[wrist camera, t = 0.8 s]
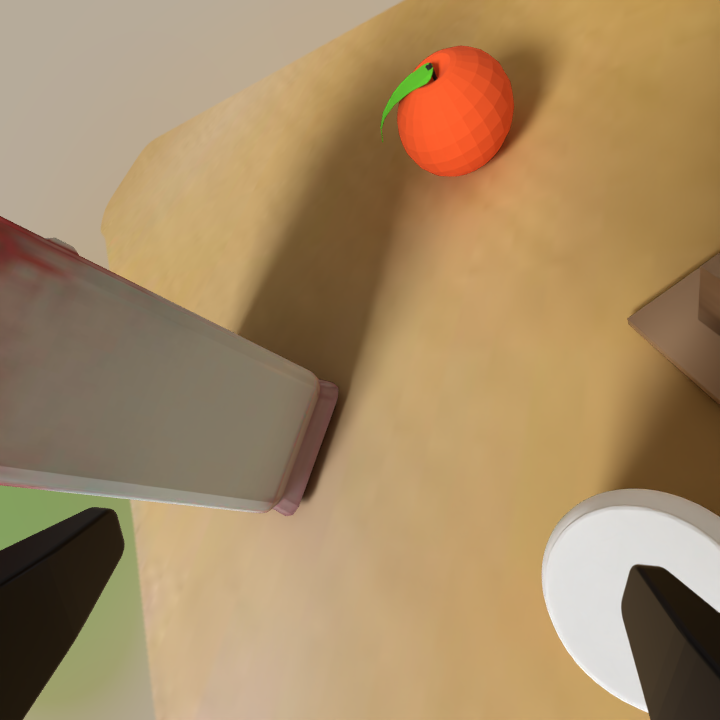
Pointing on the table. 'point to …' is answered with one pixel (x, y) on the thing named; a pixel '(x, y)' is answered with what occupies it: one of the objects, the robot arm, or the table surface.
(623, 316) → the table surface
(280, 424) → the bottle
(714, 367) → the u rest
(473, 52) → the clementine
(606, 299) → the table surface
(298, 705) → the table surface
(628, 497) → the supplement bottle
